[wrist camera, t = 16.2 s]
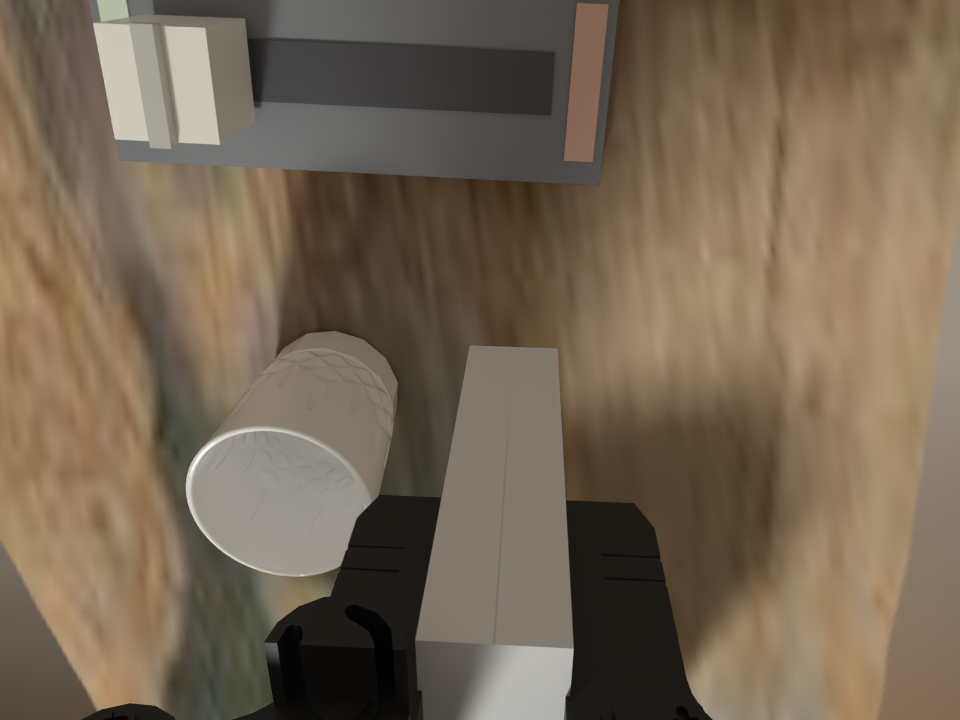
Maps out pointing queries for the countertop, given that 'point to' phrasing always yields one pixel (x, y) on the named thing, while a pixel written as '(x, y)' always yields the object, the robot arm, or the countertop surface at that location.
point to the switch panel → (412, 86)
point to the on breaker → (176, 78)
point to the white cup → (298, 457)
